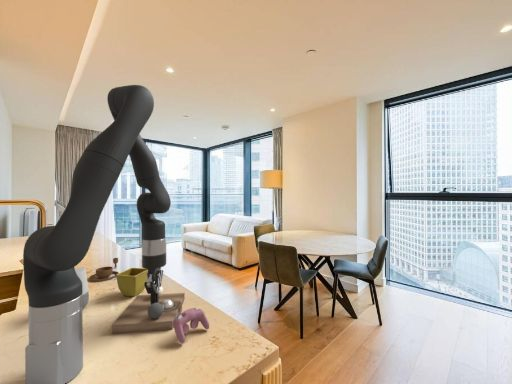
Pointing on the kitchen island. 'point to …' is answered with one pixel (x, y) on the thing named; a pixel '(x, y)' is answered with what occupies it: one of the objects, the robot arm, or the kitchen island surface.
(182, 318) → the video game controller
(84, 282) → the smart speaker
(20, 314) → the kitchen island surface
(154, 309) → the dark grey ball
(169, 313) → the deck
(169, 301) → the steel ball
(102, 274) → the place setting
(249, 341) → the kitchen island surface
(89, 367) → the kitchen island surface
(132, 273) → the flower pot
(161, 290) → the white ball
